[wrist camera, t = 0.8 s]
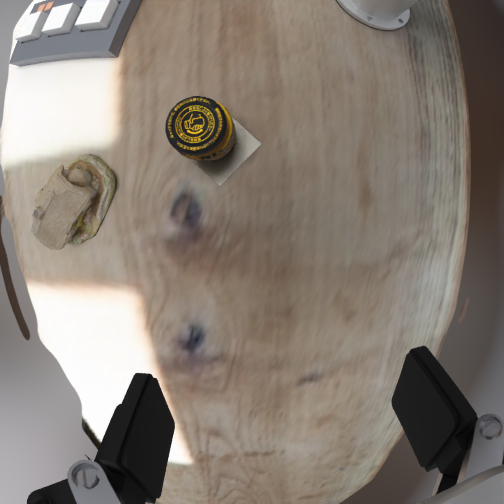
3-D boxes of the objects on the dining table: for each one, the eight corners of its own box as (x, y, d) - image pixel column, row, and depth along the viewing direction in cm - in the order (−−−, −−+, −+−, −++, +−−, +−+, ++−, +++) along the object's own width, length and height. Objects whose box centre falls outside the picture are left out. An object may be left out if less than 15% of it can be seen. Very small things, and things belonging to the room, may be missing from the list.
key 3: (97, 8, 23) (86, 0, 20) (121, 6, 23) (112, -4, 20) (86, 32, 24) (74, 24, 21) (110, 30, 25) (99, 21, 21)
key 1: (36, 21, 22) (24, 16, 18) (52, 17, 22) (41, 10, 19) (26, 43, 23) (14, 38, 20) (42, 39, 23) (30, 34, 20)
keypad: (43, 9, 22) (34, 3, 19) (146, -8, 24) (139, -18, 21) (19, 66, 26) (8, 63, 23) (117, 57, 28) (107, 50, 25)
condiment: (211, 99, 31) (195, 71, 19) (261, 144, 33) (269, 135, 21) (171, 142, 32) (136, 135, 21) (220, 186, 34) (207, 199, 23)
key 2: (63, 14, 22) (52, 7, 19) (84, 10, 23) (73, 2, 19) (53, 37, 24) (41, 31, 20) (73, 34, 24) (61, 27, 21)
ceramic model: (81, 258, 37) (44, 284, 28) (38, 210, 34) (-4, 226, 25) (130, 186, 34) (93, 196, 24) (80, 136, 31) (36, 135, 22)
